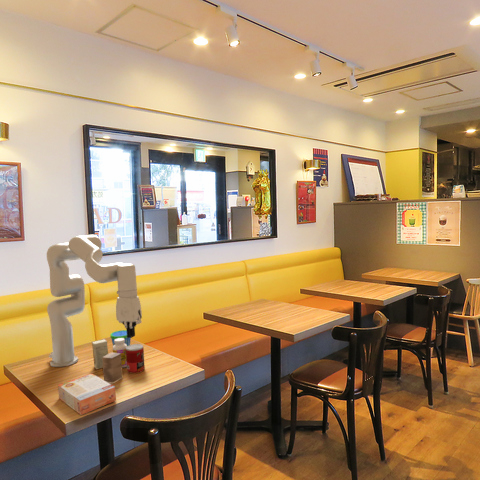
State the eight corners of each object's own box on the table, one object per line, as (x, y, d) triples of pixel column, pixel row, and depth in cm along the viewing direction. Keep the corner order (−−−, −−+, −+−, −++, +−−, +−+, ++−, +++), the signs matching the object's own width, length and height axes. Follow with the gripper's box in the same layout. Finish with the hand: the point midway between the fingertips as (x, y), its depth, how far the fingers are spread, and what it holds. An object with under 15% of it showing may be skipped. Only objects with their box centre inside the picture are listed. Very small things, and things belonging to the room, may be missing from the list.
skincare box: (107, 363, 193) (105, 338, 192) (109, 366, 189) (107, 340, 188) (93, 366, 189) (91, 341, 188) (95, 369, 186) (93, 343, 185)
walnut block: (104, 382, 171) (102, 357, 171) (113, 376, 177) (111, 352, 176) (113, 383, 169) (111, 358, 169) (122, 377, 175) (120, 353, 174)
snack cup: (130, 356, 201) (129, 336, 200) (108, 358, 200) (107, 338, 199) (134, 346, 216) (133, 328, 216) (114, 348, 215) (113, 329, 214)
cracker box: (58, 399, 158) (80, 416, 143) (57, 384, 157) (79, 399, 142) (93, 386, 167) (117, 401, 152) (91, 372, 167) (115, 386, 152)
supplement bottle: (116, 370, 184) (114, 342, 183) (111, 365, 189) (109, 339, 188) (130, 366, 188) (128, 339, 187) (125, 362, 193) (123, 336, 192)
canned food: (140, 373, 179) (138, 349, 178) (123, 373, 180) (122, 349, 179) (147, 367, 186) (146, 344, 185) (131, 366, 188) (130, 343, 187)
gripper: (107, 295, 166) (110, 338, 167) (137, 296, 160) (140, 340, 161) (119, 291, 173) (122, 333, 174) (148, 292, 167) (151, 335, 168)
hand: (131, 336), depth 168 cm, fingers closed
